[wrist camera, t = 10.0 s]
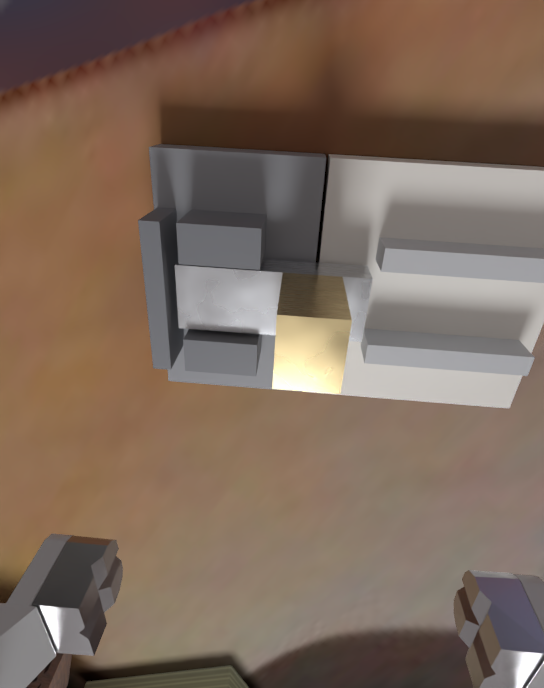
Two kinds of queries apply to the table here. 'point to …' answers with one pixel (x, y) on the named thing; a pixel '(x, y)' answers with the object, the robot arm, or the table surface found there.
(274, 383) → the bolt
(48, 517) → the table surface
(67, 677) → the tissue box cover
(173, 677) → the hardcover book
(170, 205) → the plate
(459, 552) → the table surface
